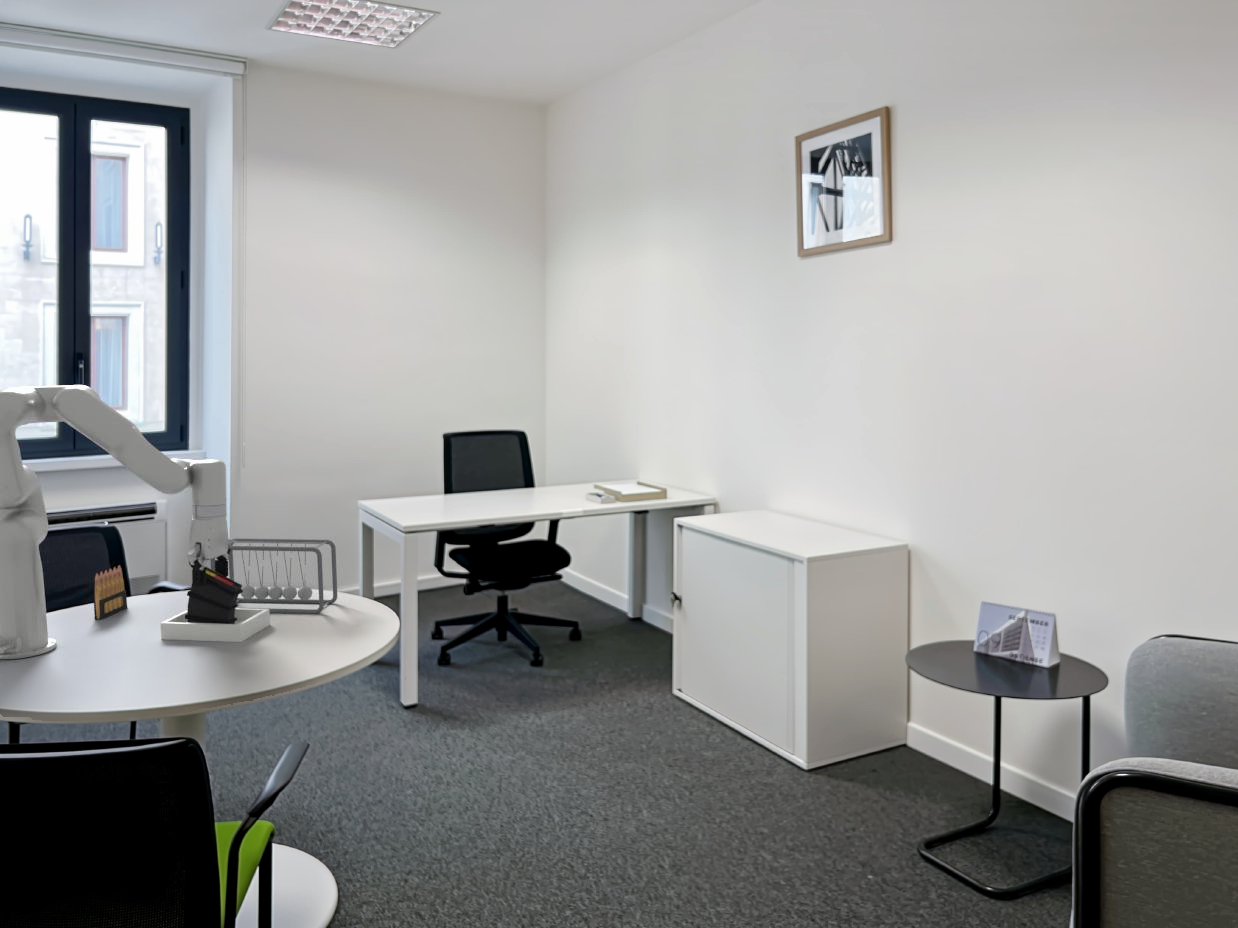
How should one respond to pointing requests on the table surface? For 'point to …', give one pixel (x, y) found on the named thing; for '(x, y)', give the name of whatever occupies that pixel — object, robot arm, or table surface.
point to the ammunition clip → (109, 594)
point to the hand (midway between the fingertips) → (210, 580)
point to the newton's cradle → (288, 591)
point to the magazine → (213, 600)
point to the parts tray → (216, 627)
